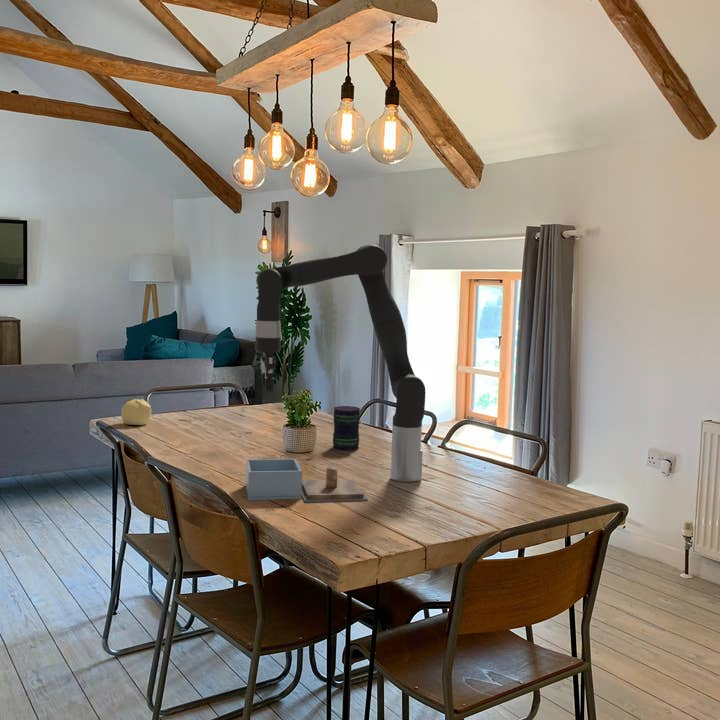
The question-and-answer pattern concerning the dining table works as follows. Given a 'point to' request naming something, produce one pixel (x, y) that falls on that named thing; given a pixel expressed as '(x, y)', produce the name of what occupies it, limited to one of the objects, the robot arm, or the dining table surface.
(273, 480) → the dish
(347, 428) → the storage jar
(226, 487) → the dining table surface
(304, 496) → the mat
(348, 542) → the dining table surface
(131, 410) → the pale yellow rounded lump
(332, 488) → the lid
